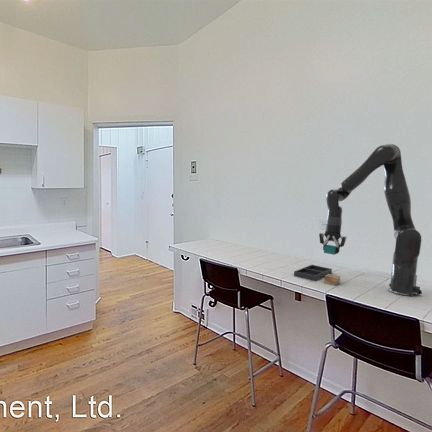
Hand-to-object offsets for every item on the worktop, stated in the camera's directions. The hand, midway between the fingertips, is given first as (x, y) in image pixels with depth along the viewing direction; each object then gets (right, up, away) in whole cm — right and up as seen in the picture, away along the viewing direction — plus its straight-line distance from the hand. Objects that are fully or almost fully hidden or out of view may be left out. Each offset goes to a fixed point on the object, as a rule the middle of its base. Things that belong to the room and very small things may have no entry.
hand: (330, 252), depth 176 cm
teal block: (0, 0, 0) cm, 1 cm away
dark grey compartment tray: (-9, -14, +3) cm, 17 cm away
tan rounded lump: (-6, -16, -11) cm, 20 cm away
